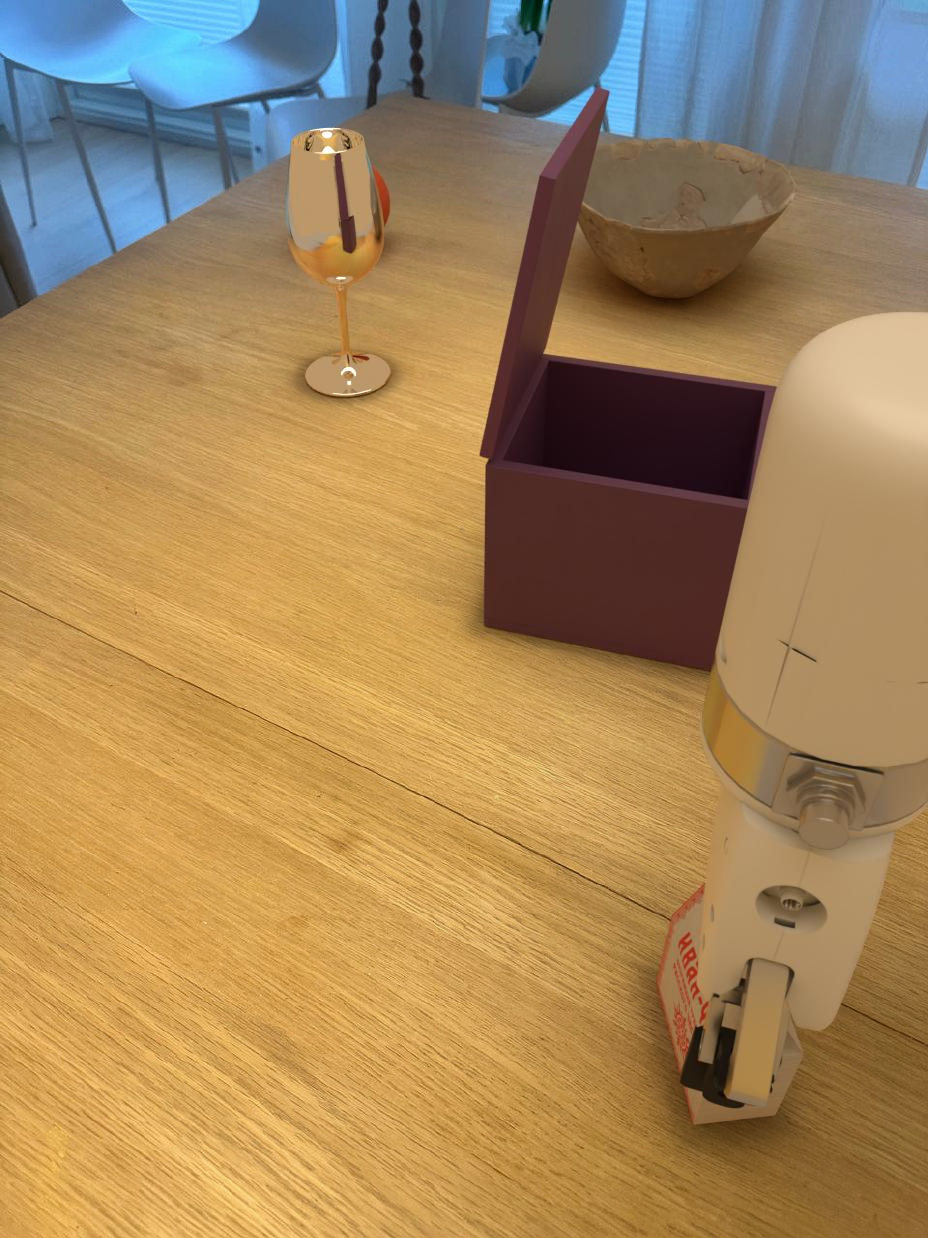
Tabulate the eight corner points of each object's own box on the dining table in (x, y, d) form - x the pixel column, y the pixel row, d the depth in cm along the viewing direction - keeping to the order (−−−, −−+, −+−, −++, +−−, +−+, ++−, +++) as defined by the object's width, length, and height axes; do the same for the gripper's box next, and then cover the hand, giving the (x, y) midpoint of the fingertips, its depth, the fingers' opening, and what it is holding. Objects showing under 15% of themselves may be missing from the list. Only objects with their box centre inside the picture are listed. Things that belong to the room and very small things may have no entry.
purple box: (743, 543, 76) (779, 385, 67) (722, 674, 66) (760, 510, 57) (532, 506, 79) (540, 352, 70) (483, 626, 69) (485, 464, 61)
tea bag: (730, 974, 51) (769, 855, 44) (775, 1115, 46) (827, 1006, 39) (656, 981, 51) (684, 863, 44) (693, 1125, 46) (731, 1016, 39)
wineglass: (333, 346, 97) (311, 116, 83) (408, 365, 94) (397, 131, 81) (286, 386, 92) (255, 148, 78) (364, 406, 89) (345, 164, 76)
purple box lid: (610, 89, 58) (596, 86, 58) (556, 178, 49) (539, 174, 49) (545, 348, 70) (534, 344, 70) (491, 460, 60) (478, 456, 60)
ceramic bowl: (542, 322, 100) (547, 218, 93) (568, 225, 117) (574, 130, 110) (780, 341, 97) (804, 235, 90) (772, 238, 114) (791, 142, 107)
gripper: (968, 995, 26) (812, 1230, 38) (942, 563, 38) (830, 843, 50) (666, 919, 28) (607, 1168, 40) (734, 528, 40) (673, 807, 52)
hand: (732, 985), depth 45 cm, fingers open, 8 cm apart
